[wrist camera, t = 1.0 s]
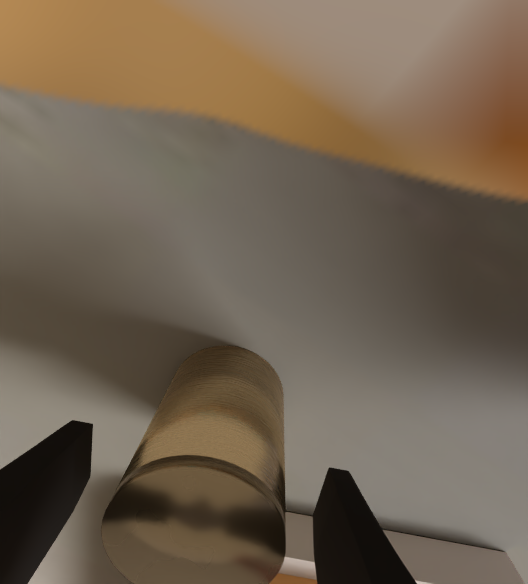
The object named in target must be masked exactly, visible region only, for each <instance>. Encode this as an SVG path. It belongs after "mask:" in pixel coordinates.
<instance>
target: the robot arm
mask: <svg viewBox="0 0 528 584" xmlns="http://www.w3.org/2000/svg"><path fill="white" fill-rule="evenodd" d="M92 430H93V424H91V423H85V422H80V421H74V420H72V421H70V422H69V423H67V424H66V425H64V426H63V427H61V428H60V429H59V430H57V431H56V432H54V433H53V434H51V435H50V436H49V437H47V438H46V439H44V440H43V441H41V442H40V443H39V444H37V445H36V446H34V447H33V448H31V449H30V450H29V451H27V452H26V453H24V454H23V455H21V456H20V457H18V458H17V459H15V460H14V461H12V462H11V463H9V464H8V465H6V466H5V467H3V468H2V469H0V584H28V582H29V580H30V579H31V577H32V576H33V574H34V573H35V571H36V569H37V568H38V566H39V565H40V563H41V562H42V560H43V558H44V557H45V555H46V554H47V552H48V551H49V549H50V547H51V546H52V544H53V543H54V541H55V540H56V538H57V536H58V535H59V533H60V532H61V530H62V528H63V527H64V525H65V524H66V522H67V520H68V519H69V517H70V516H71V514H72V512H73V510H74V508H75V506H76V504H77V503H78V501H79V499H80V497H81V495H82V493H83V490H84V488H85V486H86V484H87V482H88V480H89V478H90V474H91V452H92ZM313 548H314V561H315V569H316V577H317V584H417V583H416V581H415V580H414V578H413V577H412V575H411V574H410V572H409V571H408V569H407V568H406V566H405V565H404V563H403V562H402V560H401V559H400V557H399V556H398V554H397V553H396V551H395V549H394V548H393V546H392V545H391V543H390V541H389V540H388V538H387V536H386V535H385V533H384V532H383V530H382V528H381V527H380V525H379V523H378V522H377V520H376V518H375V516H374V515H373V513H372V511H371V510H370V508H369V506H368V504H367V503H366V501H365V499H364V497H363V496H362V494H361V492H360V490H359V488H358V487H357V485H356V483H355V481H354V479H353V478H352V476H351V474H350V473H349V471H346V470H340V469H335V468H329V469H328V472H327V475H326V478H325V481H324V484H323V487H322V490H321V493H320V496H319V499H318V502H317V505H316V508H315V511H314V514H313Z"/></svg>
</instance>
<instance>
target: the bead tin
mask: <svg viewBox="0 0 528 584" xmlns="http://www.w3.org/2000/svg"><path fill="white" fill-rule="evenodd" d="M101 534H102V541H103V545H104V548H105V550H106V553H107V555H108V557H109V558H110V560H111V562H112V563H113V564H114V566H115V567H116V568H117V570H118V571H119V572H120V573H121V574H122V575H123V576H124V577H126V578H127V579H128V580H129V581H131V582H132V583H133V584H269V583H270V582H271V581H272V580H273V579H274V578H275V577H276V575H277V574H278V572H279V571H280V569H281V567H282V564H283V562H284V558H285V553H286V518H285V459H284V399H283V387H282V384H281V381H280V379H279V377H278V375H277V373H276V372H275V370H274V369H273V368H272V366H271V365H270V364H269V363H268V362H267V361H266V360H264V359H263V358H262V357H260V356H259V355H257V354H255V353H253V352H251V351H249V350H246V349H243V348H239V347H234V346H214V347H209V348H206V349H203V350H200V351H198V352H196V353H194V354H193V355H191V356H190V357H188V358H187V359H186V360H185V361H184V362H183V363H182V364H181V366H180V367H179V369H178V370H177V372H176V374H175V376H174V378H173V380H172V382H171V384H170V386H169V388H168V390H167V391H166V393H165V395H164V397H163V399H162V401H161V403H160V405H159V407H158V409H157V411H156V413H155V415H154V417H153V419H152V421H151V423H150V425H149V427H148V429H147V431H146V433H145V435H144V437H143V439H142V440H141V442H140V444H139V446H138V448H137V450H136V452H135V454H134V456H133V458H132V460H131V462H130V464H129V466H128V468H127V470H126V472H125V474H124V476H123V478H122V480H121V482H120V484H119V486H118V488H117V489H116V491H115V493H114V495H113V497H112V499H111V501H110V503H109V505H108V507H107V509H106V511H105V514H104V517H103V520H102V527H101Z"/></svg>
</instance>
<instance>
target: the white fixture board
mask: <svg viewBox="0 0 528 584" xmlns="http://www.w3.org/2000/svg"><path fill="white" fill-rule="evenodd" d="M285 518H286V553H285V558H284V562H283V564H282V567H281V569H280V571H279V572H278V574H277V575H276V577H275V578H274V579H273V580H272V581H271V582H270V583H269V584H317V577H316V569H315V561H314V548H313V517H312V516H306V515H301V514H295V513H290V512H285ZM383 532H384V533H385V535H386V536H387V538H388V540H389V541H390V543H391V545H392V546H393V548H394V549H395V551H396V553H397V554H398V556H399V557H400V559H401V560H402V562H403V563H404V565H405V566H406V568H407V569H408V571H409V572H410V574H411V575H412V577H413V578H414V580H415V581H416V583H417V584H525V583H524V582H523V580H522V578H521V576H520V575H519V573H518V571H517V570H516V568H515V566H514V565H513V563H512V561H511V560H510V558H509V556H508V555H507V553H506V552H501V551H496V550H490V549H485V548H479V547H474V546H469V545H463V544H458V543H452V542H447V541H442V540H436V539H431V538H425V537H420V536H415V535H409V534H404V533H398V532H393V531H387V530H383Z"/></svg>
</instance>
